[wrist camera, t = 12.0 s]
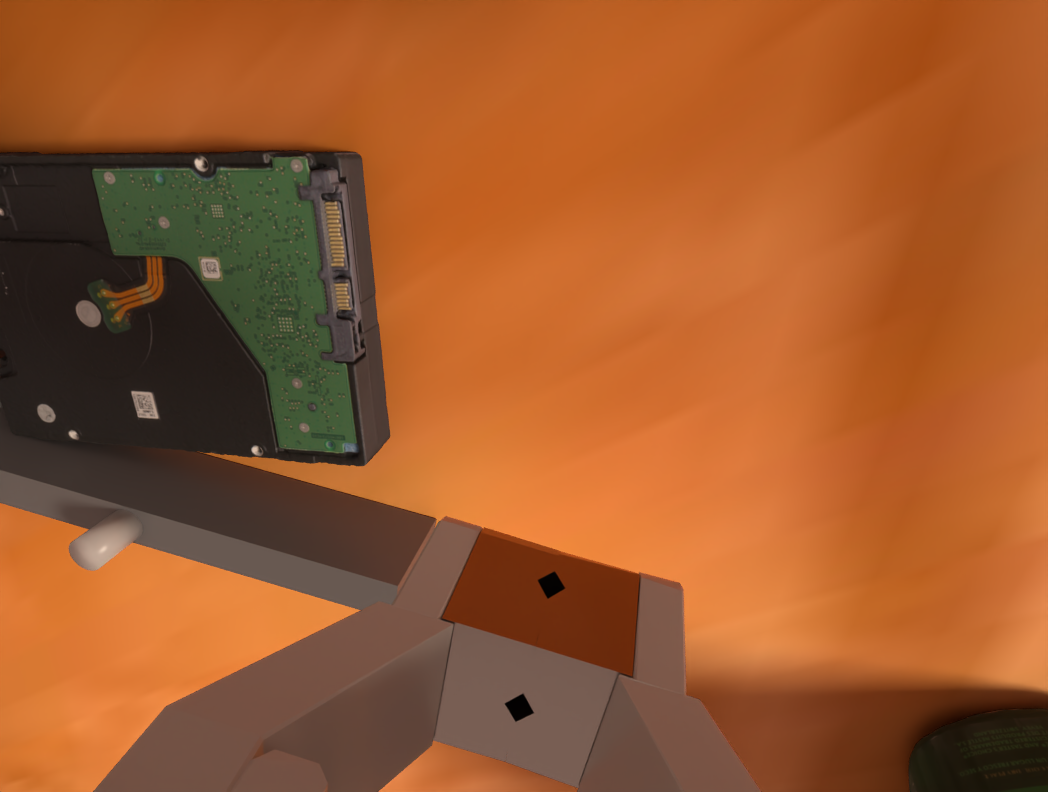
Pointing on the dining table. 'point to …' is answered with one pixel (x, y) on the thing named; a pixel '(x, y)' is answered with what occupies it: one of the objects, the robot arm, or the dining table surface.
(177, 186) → the disk drive
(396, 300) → the dining table surface
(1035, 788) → the coffee jar
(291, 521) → the bracket
